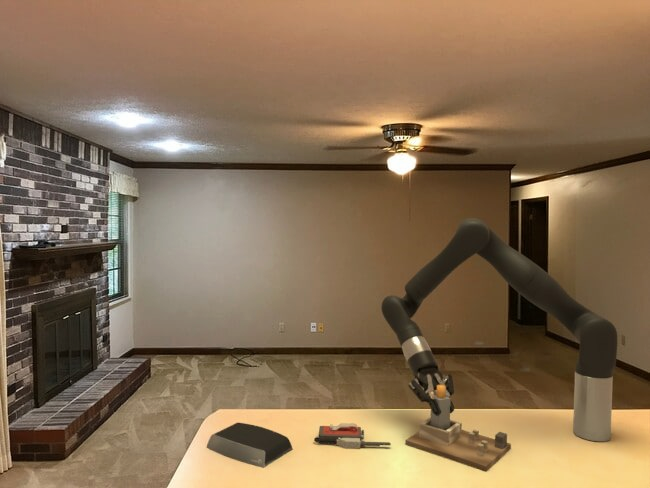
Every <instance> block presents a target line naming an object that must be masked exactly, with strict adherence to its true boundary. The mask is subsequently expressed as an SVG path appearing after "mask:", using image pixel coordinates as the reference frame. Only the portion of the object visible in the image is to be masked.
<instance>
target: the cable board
mask: <svg viewBox="0 0 650 488" xmlns="http://www.w3.org/2000/svg"><path fill="white" fill-rule="evenodd" d="M418 426H419V429H418V430H419V431H418V432H416V433H414V434H412V435H411V436H409V437H408V438H406V439H405V440H404V441H405V443H404V444H405V446H409V447H412V448H415V449H418V450H422V451H424V452H427V453H430V454H433V455H436V456H439V457H442V458H444V459H448V460H451V461H454V462H457V463H460V464H463V465H466V466H469V467H473V468H475V469H478V470H481V471H484V472H488V470H490V469H491V467H492V466H494V464H496V463H497V462H498V461H499V460H501V458H502V457H503V456H504V455H505V454H506V453H508V451H510V450H511V449H512V444H511V443H509V442H508V433H507V432H502V431H498V432H497V433H496V434H494V438H493V437H489V436H487V435H486V436H485V435H482V434H480V433H479V432H480V430H478V429H472V431H468V430H465V429H463V427H462V422H459V421H456V420H452V419H450V428H446V429H439V428H436V427H433V426H431V417H429V418H427V419H426V420H424V421H422V422H421V423H419V425H418Z"/></svg>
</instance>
